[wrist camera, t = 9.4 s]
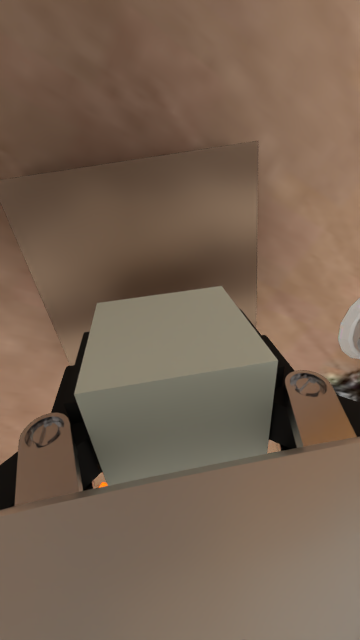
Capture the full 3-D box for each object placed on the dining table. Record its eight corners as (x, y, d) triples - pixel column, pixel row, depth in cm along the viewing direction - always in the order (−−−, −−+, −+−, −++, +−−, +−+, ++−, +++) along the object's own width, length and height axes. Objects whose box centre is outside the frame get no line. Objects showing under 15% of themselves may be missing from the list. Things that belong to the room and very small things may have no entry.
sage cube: (97, 303, 11) (74, 394, 6) (221, 286, 11) (277, 360, 7) (121, 396, 13) (115, 507, 9) (222, 379, 14) (264, 477, 9)
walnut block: (23, 177, 18) (-10, 181, 14) (229, 145, 19) (258, 140, 15) (87, 347, 25) (78, 385, 21) (235, 318, 26) (255, 348, 22)
